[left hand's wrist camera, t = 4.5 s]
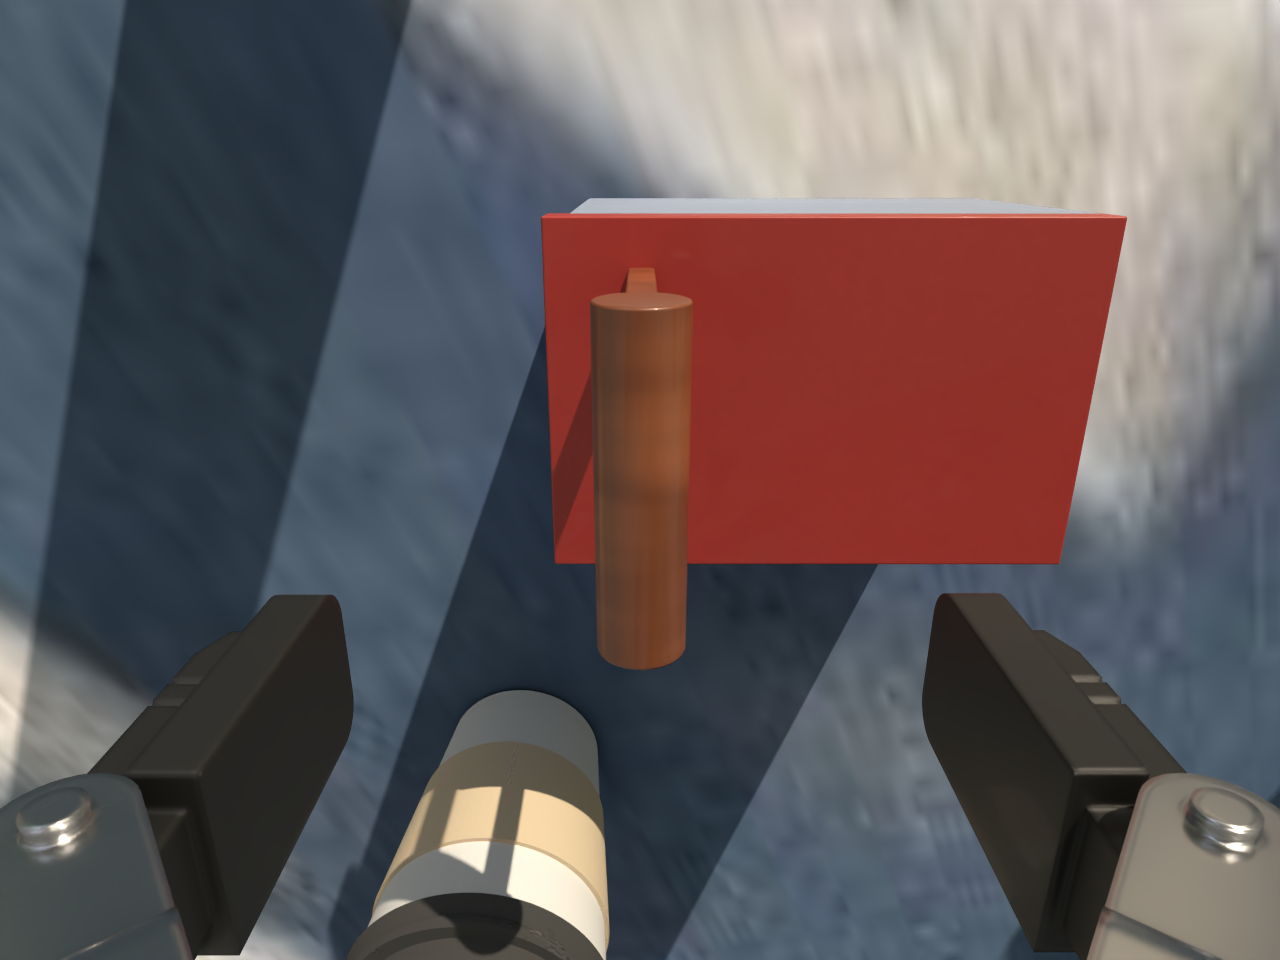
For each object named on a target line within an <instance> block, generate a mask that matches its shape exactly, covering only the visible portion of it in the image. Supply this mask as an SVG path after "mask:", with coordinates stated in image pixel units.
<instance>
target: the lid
mask: <svg viewBox="0 0 1280 960" xmlns="http://www.w3.org/2000/svg"><path fill="white" fill-rule="evenodd" d="M1126 221H1127V217H1125V216H1118V215H1110V214H960V213H959V214H958V213H548V214H546V215H544V216H542V217H541V231H542V256H543V281H544V306H545V331H546V357H547V382H548V407H549V432H550V457H551V482H552V507H553V533H554V558H555V564H595V575H596V623H597V648H598V651H599V653H600V655H601V656H602V657H603V658H604V659H605V660H607V661H608V662H610V663H612V664H613V665H616V666H619V667H622V668H626V669H633V670H650V669H656V668H661V667H664V666H667V665H669V664H671V663H673V662H675V661H676V660H677V659H679V658H680V656H681V655H682V654H683V652H684V650H685V647H686V604H687V564H1059V562H1060V557H1061V552H1062V547H1063V542H1064V537H1065V532H1066V527H1067V522H1068V517H1069V511H1070V506H1071V501H1072V496H1073V491H1074V486H1075V481H1076V476H1077V471H1078V466H1079V460H1080V455H1081V450H1082V445H1083V440H1084V435H1085V430H1086V425H1087V420H1088V415H1089V409H1090V404H1091V399H1092V394H1093V389H1094V384H1095V379H1096V374H1097V369H1098V364H1099V358H1100V353H1101V348H1102V343H1103V338H1104V333H1105V328H1106V323H1107V318H1108V313H1109V307H1110V302H1111V297H1112V292H1113V287H1114V282H1115V277H1116V272H1117V267H1118V262H1119V256H1120V251H1121V246H1122V241H1123V236H1124V231H1125V226H1126Z"/></svg>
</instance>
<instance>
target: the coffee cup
mask: <svg viewBox="0 0 1280 960" xmlns="http://www.w3.org/2000/svg"><path fill="white" fill-rule="evenodd" d="M608 942H609V914H608V894H607V875H606V856H605V837H604V817H603V808H602V804H601V800H600V798H599V772H598V749H597V743H596V739H595V736H594V733H593V731H592V729H591V727H590V726H589V724H588V723H587V721H586V720H585V719H584V718H583V716H582V715H581V714H580V713H579V712H578V711H576V710H575V709H574V708H573V707H571V706H570V705H569V704H567V703H565V702H564V701H562V700H560V699H558V698H556V697H553V696H551V695H548V694H544V693H541V692H536V691H528V690H512V691H505V692H500V693H496V694H493V695H491V696H488V697H486V698H484V699H482V700H480V701H479V702H477V703H476V704H474V705H473V706H472V707H471V708H470V709H469V710H468V711H467V712H466V713H465V714H464V715H463V717H462V718H461V720H460V721H459V723H458V725H457V728H456V730H455V732H454V734H453V736H452V739H451V741H450V743H449V745H448V748H447V750H446V752H445V754H444V757H443V759H442V761H441V763H440V766H439V768H438V769H437V770H436V771H435V773H434V774H433V775H432V777H431V778H430V780H429V782H428V784H427V786H426V789H425V791H424V793H423V795H422V797H421V800H420V802H419V804H418V806H417V809H416V811H415V813H414V815H413V817H412V820H411V822H410V824H409V826H408V828H407V831H406V833H405V835H404V837H403V839H402V842H401V844H400V846H399V848H398V850H397V853H396V855H395V857H394V859H393V861H392V864H391V866H390V868H389V870H388V872H387V875H386V877H385V879H384V881H383V884H382V886H381V888H380V890H379V892H378V895H377V897H376V900H375V903H374V907H373V913H372V918H371V921H370V923H369V925H368V927H367V929H366V930H365V931H364V932H363V933H362V934H361V935H360V936H359V937H358V939H357V940H356V941H355V943H354V944H353V946H352V948H351V950H350V951H349V953H348V956H347V958H346V960H606V951H607V947H608Z"/></svg>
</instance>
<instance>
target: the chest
mask: <svg viewBox="0 0 1280 960" xmlns="http://www.w3.org/2000/svg"><path fill="white" fill-rule="evenodd" d="M571 213H958V214H959V213H960V214H1098V213H1092V212H1084V211H1075V210H1067V209H1058V208H1050V207H1042V206H1033V205H1025V204H1016V203H1008V202H999V201H991V200H983V199H974V198H590V199H588V200H587V201H585V202H584V203H583V204H581V205H580V206H579V207H577V208H576V209H575V210H573V211H572V212H571Z"/></svg>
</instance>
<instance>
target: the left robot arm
mask: <svg viewBox="0 0 1280 960" xmlns="http://www.w3.org/2000/svg"><path fill="white" fill-rule="evenodd" d="M353 704H354V702H353V690H352V683H351V676H350V669H349V662H348V655H347V648H346V641H345V634H344V627H343V620H342V613H341V608H340V605H339V602H338V600H337V599H336V597H335V596H333V595H274V596H273V597H271V598H270V599H269V600H268V602H267V603H266V604H265V605H264V606H263V607H262V609H261V610H260V611H259V612H258V613H257V615H256V616H255V617H254V618H253V619H252V621H251V622H250V623H249V624H248V625H247V626H246V628H245V629H244V630H243V631H242V632H230V633H228V634H227V635H225V636H223V637H222V638H220V639H218V640H217V641H215V642H213V643H212V644H210V645H209V646H207V647H205V648H204V649H202V650H200V651H199V652H197V653H196V654H195V655H194V656H193V657H192V658H191V659H190V660H189V661H188V662H187V663H186V665H185V666H184V667H183V668H182V669H181V670H180V671H179V672H178V673H177V675H176V676H175V677H174V678H173V679H172V684H168V685H167V686H166V687H165V688H164V689H163V690H162V691H161V692H160V693H159V695H158V696H157V697H156V698H155V699H154V700H153V706H148V707H147V708H146V709H145V710H144V711H143V712H142V713H141V715H140V716H139V717H138V718H137V719H136V720H135V721H134V722H133V723H132V725H131V726H130V727H129V728H128V729H127V730H126V731H125V732H124V733H123V735H122V736H121V737H120V738H119V739H118V740H117V741H116V742H115V743H114V745H113V746H112V747H111V748H110V749H109V750H108V751H107V752H106V753H105V755H104V756H103V757H102V758H101V759H100V760H99V761H98V762H97V763H96V765H95V766H94V767H93V768H92V769H91V770H90V771H89V772H88V774H83V775H77V776H73V777H68V778H64V779H61V780H58V781H55V782H51V783H49V784H46V785H44V786H41V787H39V788H36V789H34V790H32V791H30V792H28V793H26V794H24V795H22V796H20V797H18V798H17V799H15V800H13V801H12V802H10V803H8V804H7V805H5V806H4V807H3V808H1V809H0V960H195V958H196V957H197V955H240V953H241V951H242V949H243V947H244V946H245V944H246V942H247V940H248V938H249V936H250V934H251V932H252V930H253V928H254V926H255V924H256V922H257V920H258V918H259V916H260V914H261V912H262V910H263V908H264V906H265V904H266V902H267V900H268V898H269V896H270V894H271V892H272V890H273V888H274V886H275V884H276V882H277V880H278V878H279V876H280V874H281V872H282V870H283V868H284V866H285V864H286V862H287V860H288V858H289V856H290V854H291V852H292V850H293V848H294V846H295V844H296V842H297V840H298V838H299V836H300V834H301V832H302V830H303V828H304V826H305V824H306V822H307V820H308V818H309V816H310V814H311V812H312V810H313V808H314V806H315V804H316V802H317V800H318V798H319V796H320V794H321V792H322V790H323V788H324V786H325V784H326V782H327V780H328V778H329V776H330V774H331V773H332V771H333V769H334V767H335V765H336V763H337V761H338V759H339V757H340V755H341V753H342V751H343V749H344V747H345V745H346V742H347V740H348V737H349V734H350V730H351V725H352V719H353ZM922 710H923V719H924V725H925V730H926V733H927V736H928V739H929V742H930V744H931V746H932V748H933V750H934V752H935V754H936V756H937V758H938V760H939V762H940V764H941V766H942V768H943V770H944V772H945V774H946V776H947V778H948V780H949V782H950V784H951V786H952V788H953V790H954V792H955V794H956V796H957V798H958V800H959V802H960V804H961V806H962V808H963V810H964V812H965V814H966V816H967V818H968V820H969V822H970V824H971V826H972V828H973V830H974V832H975V834H976V836H977V838H978V840H979V842H980V844H981V846H982V848H983V850H984V853H985V855H986V857H987V859H988V861H989V863H990V865H991V867H992V869H993V871H994V873H995V875H996V877H997V879H998V881H999V883H1000V885H1001V887H1002V889H1003V891H1004V893H1005V895H1006V897H1007V899H1008V901H1009V903H1010V905H1011V907H1012V909H1013V911H1014V913H1015V915H1016V917H1017V919H1018V921H1019V923H1020V925H1021V927H1022V929H1023V931H1024V933H1025V935H1026V937H1027V939H1028V941H1029V943H1030V945H1031V947H1032V949H1033V951H1034V952H1076V953H1077V955H1078V957H1079V959H1080V960H1280V809H1279V808H1277V807H1276V806H1275V805H1273V804H1272V803H1270V802H1268V801H1267V800H1265V799H1263V798H1262V797H1260V796H1258V795H1256V794H1254V793H1252V792H1250V791H1248V790H1246V789H1244V788H1241V787H1239V786H1236V785H1234V784H1231V783H1229V782H1225V781H1222V780H1219V779H1216V778H1212V777H1207V776H1203V775H1197V774H1189V773H1187V772H1186V771H1185V770H1184V769H1183V768H1182V767H1181V766H1180V764H1179V763H1178V762H1177V761H1176V760H1175V759H1174V758H1173V757H1172V756H1171V754H1170V753H1169V752H1168V751H1167V750H1166V749H1165V748H1164V747H1163V745H1162V744H1161V743H1160V742H1159V741H1158V740H1157V739H1156V738H1155V736H1154V735H1153V734H1152V733H1151V732H1150V731H1149V730H1148V729H1147V727H1146V726H1145V725H1144V724H1143V723H1142V722H1141V721H1140V720H1139V718H1138V717H1137V716H1136V715H1135V714H1134V713H1133V712H1132V711H1131V710H1130V708H1129V707H1128V706H1127V705H1126V704H1121V698H1120V697H1119V696H1118V695H1117V694H1116V693H1115V692H1114V690H1113V689H1112V688H1111V687H1110V686H1109V685H1108V684H1107V683H1103V682H1102V677H1101V676H1100V675H1099V674H1098V672H1097V671H1096V670H1095V669H1094V668H1093V667H1092V666H1091V665H1090V663H1089V662H1088V661H1087V660H1086V659H1085V658H1084V657H1083V656H1082V655H1081V653H1080V652H1078V651H1077V650H1075V649H1074V648H1072V647H1070V646H1069V645H1067V644H1065V643H1064V642H1062V641H1061V640H1059V639H1057V638H1056V637H1054V636H1052V635H1051V634H1049V633H1048V632H1046V631H1044V630H1032V629H1031V628H1030V627H1029V625H1028V624H1027V623H1026V622H1025V621H1024V619H1023V618H1022V617H1021V616H1020V615H1019V613H1018V612H1017V611H1016V610H1015V609H1014V607H1013V606H1012V605H1011V604H1010V603H1009V601H1008V600H1007V599H1006V598H1005V597H1004V596H1003V595H1001V594H997V593H944V594H942V595H940V596H939V598H938V600H937V602H936V605H935V609H934V615H933V622H932V629H931V636H930V643H929V650H928V658H927V665H926V672H925V679H924V686H923V694H922Z"/></svg>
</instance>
